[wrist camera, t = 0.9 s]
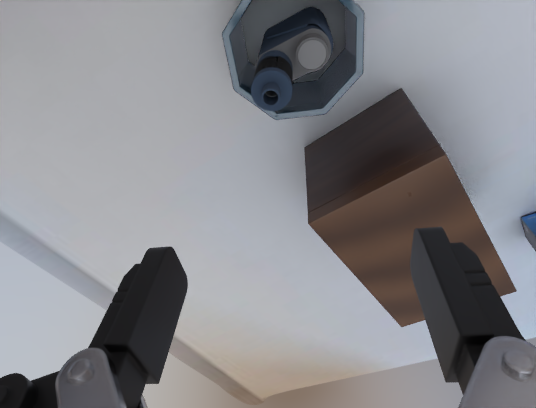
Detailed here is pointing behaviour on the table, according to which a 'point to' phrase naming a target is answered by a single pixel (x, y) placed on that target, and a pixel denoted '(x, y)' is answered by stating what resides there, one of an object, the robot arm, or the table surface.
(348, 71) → the pen pot
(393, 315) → the block
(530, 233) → the blue cardboard box
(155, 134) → the table surface
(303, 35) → the vaping device
